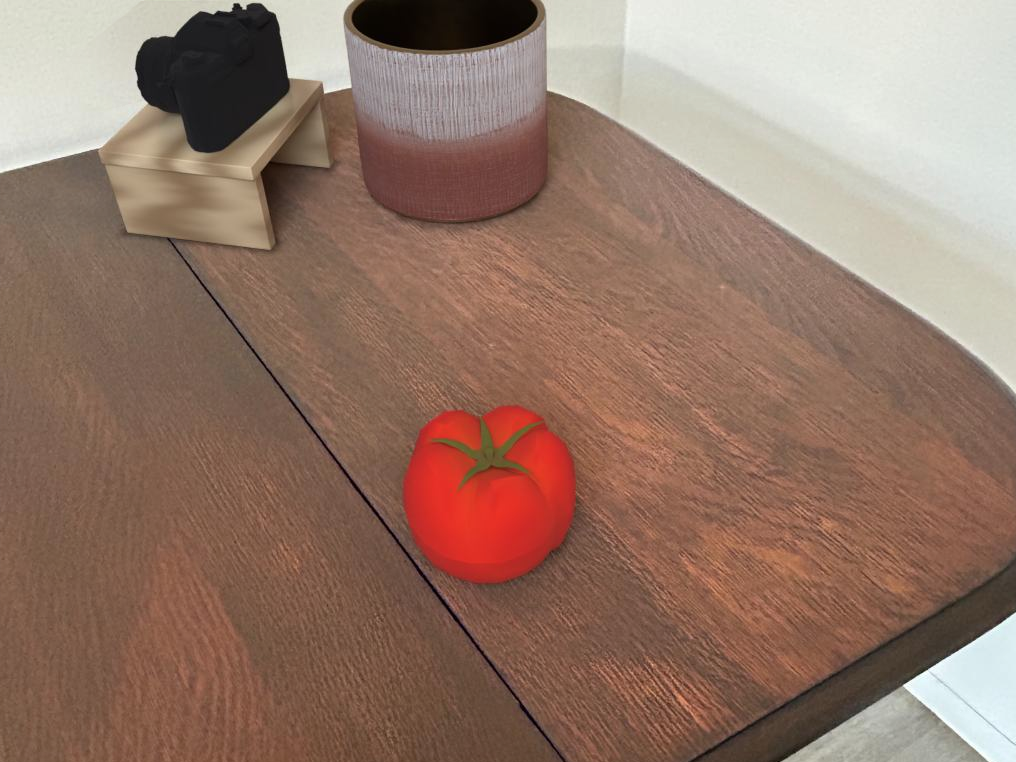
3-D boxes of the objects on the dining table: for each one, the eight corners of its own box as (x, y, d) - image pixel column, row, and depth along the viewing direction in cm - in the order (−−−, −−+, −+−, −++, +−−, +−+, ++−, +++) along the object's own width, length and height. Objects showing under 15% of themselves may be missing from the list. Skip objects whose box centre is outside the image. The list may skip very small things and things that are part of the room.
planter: (379, 137, 106) (358, -28, 94) (550, 140, 105) (551, -26, 93) (350, 229, 94) (323, 53, 82) (544, 232, 93) (544, 56, 82)
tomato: (394, 601, 64) (377, 500, 57) (433, 470, 72) (422, 367, 65) (562, 619, 63) (565, 518, 56) (583, 484, 71) (588, 382, 64)
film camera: (213, 72, 98) (189, -30, 91) (303, 86, 96) (286, -17, 89) (120, 143, 88) (85, 35, 81) (218, 161, 86) (191, 51, 79)
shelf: (125, 234, 93) (97, 150, 87) (205, 147, 104) (185, 67, 98) (269, 252, 91) (250, 167, 85) (335, 161, 102) (322, 80, 96)
